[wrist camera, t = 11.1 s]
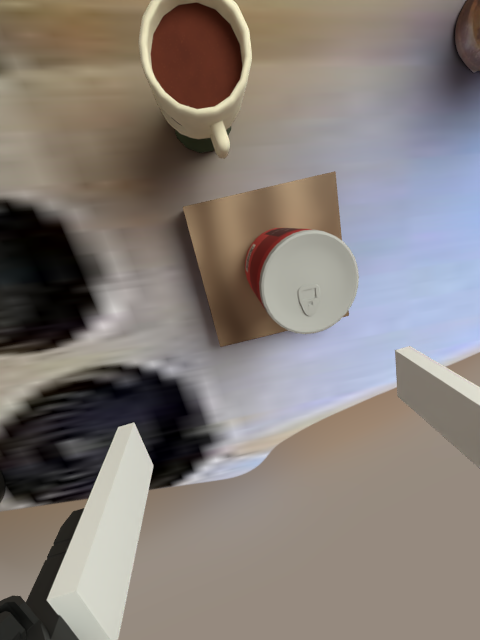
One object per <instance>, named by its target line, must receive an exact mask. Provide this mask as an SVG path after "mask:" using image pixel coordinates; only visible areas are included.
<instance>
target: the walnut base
mask: <svg viewBox="0 0 480 640" xmlns="http://www.w3.org/2000/svg"><path fill="white" fill-rule="evenodd" d="M183 210H184V214H185V217H186V221H187V225H188V229H189V232H190V236H191V240H192V243H193V247H194V251H195V255H196V258H197V262H198V266H199V269H200V273H201V277H202V281H203V284H204V288H205V292H206V296H207V299H208V303H209V307H210V310H211V314H212V318H213V322H214V325H215V329H216V333H217V336H218V340H219V344H220V347H223V346H227V345H231V344H235V343H239V342H243V341H247V340H251V339H255V338H260V337H264V336H268V335H272V334H276V333H280V332H284V331H288V330H287V329H285V328H283V327H281V326H280V325H279V324H277V323H276V322H275V321H274V320H273V319H272V318H271V317H270V316H269V314H268V313H267V312H266V310H265V309H264V307H263V306H262V304H261V303H260V301H259V299H258V298H257V296H256V294H255V293H254V291H253V290H252V288H251V286H250V284H249V282H248V280H247V277H246V273H245V260H246V256H247V253H248V250H249V248H250V246H251V244H252V243H253V242H254V241H255V239H256V238H257V237H258V236H260V235H261V234H262V233H264V232H266V231H268V230H271V229H274V228H299V229H312V230H319V231H324V232H327V233H329V234H332V235H334V236H336V237H337V238H339V239H340V240H342V237H341V226H340V216H339V205H338V195H337V184H336V173H335V172H331V173H326V174H322V175H318V176H314V177H309V178H305V179H301V180H296V181H292V182H288V183H283V184H279V185H275V186H271V187H266V188H262V189H258V190H253V191H249V192H245V193H240V194H236V195H232V196H228V197H223V198H219V199H215V200H210V201H206V202H202V203H197V204H193V205H189V206H185V207H183ZM345 316H349V311H347V313H346V314H345V315H344V316H343V317H345Z"/></svg>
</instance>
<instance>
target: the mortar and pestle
mask: <svg viewBox="0 0 480 640" xmlns="http://www.w3.org/2000/svg"><path fill="white" fill-rule="evenodd" d="M455 42H456V47H457V51H458V53H459V55H460V57H461V58H462V60H463V61H464V63H465V64H466V66H467V67H468V68H469V69H470V70H471V71H472V72H473V73H475V72H477V71H480V0H467V1H466V3H465V4H464V6H463V8H462V10H461V12H460V14H459V17H458V20H457V24H456V29H455Z"/></svg>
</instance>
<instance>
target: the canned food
mask: <svg viewBox="0 0 480 640" xmlns="http://www.w3.org/2000/svg"><path fill="white" fill-rule="evenodd" d="M245 273H246V277H247V280H248V282H249V284H250V286H251V288H252V290H253V291H254V293H255V294H256V296H257V298H258V299H259V301H260V303H261V304H262V306H263V307H264V309H265V310H266V312H267V313H268V314H269V316H270V317H271V318H272V319H273V320H274V321H275V322H276V323H277V324H279V325H280V326H281V327H283V328H285V329H287V330H289V331H292V332H295V333H301V334H310V333H316V332H320V331H323V330H325V329H327V328H329V327H331V326H333V325H334V324H335V323H337V322H338V321H339V320H340V319H341V318H342V317H343V316H344V315H345V314H346V313H347V311H348V310H349V308H350V307H351V305H352V303H353V301H354V298H355V296H356V292H357V288H358V278H359V275H358V267H357V264H356V261H355V257H354V256H353V254H352V252H351V250H350V249H349V248H348V246H347V245H346V244H345V243H344V242H343V241H342V240H340V239H339V238H337V237H336V236H334V235H332V234H329V233H327V232H324V231H319V230H312V229H299V228H274V229H271V230H268V231H266V232H264V233H262V234H261V235H260V236H258V237H257V238H256V239H255V241H254V242H253V243H252V244H251V246H250V248H249V250H248V253H247V256H246V260H245Z"/></svg>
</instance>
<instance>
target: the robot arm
mask: <svg viewBox="0 0 480 640" xmlns="http://www.w3.org/2000/svg"><path fill="white" fill-rule="evenodd" d="M395 357H396V375H397V393H398V397H399V398H400V399H401V400H402V401H403V402H405V403H406V404H407V405H408V406H409V407H410V408H411V409H413V410H414V411H415V412H416V413H417V414H418V415H419V416H421V417H422V418H423V419H424V420H425V421H426V422H427V423H429V424H430V425H431V426H432V427H433V428H434V429H435V430H437V431H438V432H439V433H440V434H441V435H442V436H443V437H444V438H446V439H447V440H448V441H449V442H450V443H451V444H452V445H453V446H455V447H456V448H457V449H458V450H459V451H460V452H461V453H463V454H464V455H465V456H466V457H467V458H468V459H469V460H470V461H472V462H473V463H474V464H475V465H476V466H477V467H478V468H480V387H478V386H477V385H475V384H473V383H472V382H470V381H468V380H466V379H465V378H463V377H461V376H459V375H458V374H456V373H454V372H453V371H451V370H449V369H448V368H446V367H444V366H443V365H441V364H439V363H437V362H436V361H434V360H432V359H431V358H429V357H427V356H426V355H424V354H422V353H420V352H419V351H417V350H415V349H414V348H412V347H410V346H409V347H405V348H401V349H398V350H395ZM152 470H153V464H152V461H151V459H150V457H149V455H148V452H147V450H146V448H145V446H144V443H143V441H142V439H141V437H140V434H139V432H138V430H137V428H136V425H135V423H131V424H127V425H124V426H120V427H118V429H117V431H116V434H115V436H114V439H113V441H112V444H111V446H110V448H109V451H108V453H107V456H106V458H105V460H104V463H103V465H102V468H101V470H100V472H99V475H98V477H97V480H96V482H95V484H94V487H93V489H92V492H91V494H90V496H89V499H88V501H87V504H86V506H85V508H83V509H80V510H77V511H73V512H72V514H71V515H70V516H69V518H68V519H67V520H66V521H65V523H64V524H63V525H62V527H61V528H60V531H59V533H58V535H57V537H56V539H55V541H54V546H52V548H51V550H50V552H49V554H48V556H47V560H46V561H45V563H44V565H43V567H42V569H41V571H40V574H39V576H38V578H37V580H36V582H35V584H34V586H33V588H32V591H31V593H30V595H29V597H28V599H27V601H26V603H25V601H24V600H23V599H22V598H21V597H20V596H11V597H8V598H6V599H3V600H2V601H0V640H118V638H119V632H120V628H121V622H122V618H123V613H124V608H125V603H126V598H127V593H128V588H129V583H130V579H131V573H132V569H133V564H134V559H135V554H136V549H137V544H138V539H139V534H140V529H141V524H142V520H143V515H144V510H145V505H146V499H147V495H148V490H149V485H150V480H151V475H152ZM4 493H5V481H4V478H3V475H2V473H1V471H0V502H1V500H2V499H3V496H4Z"/></svg>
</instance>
